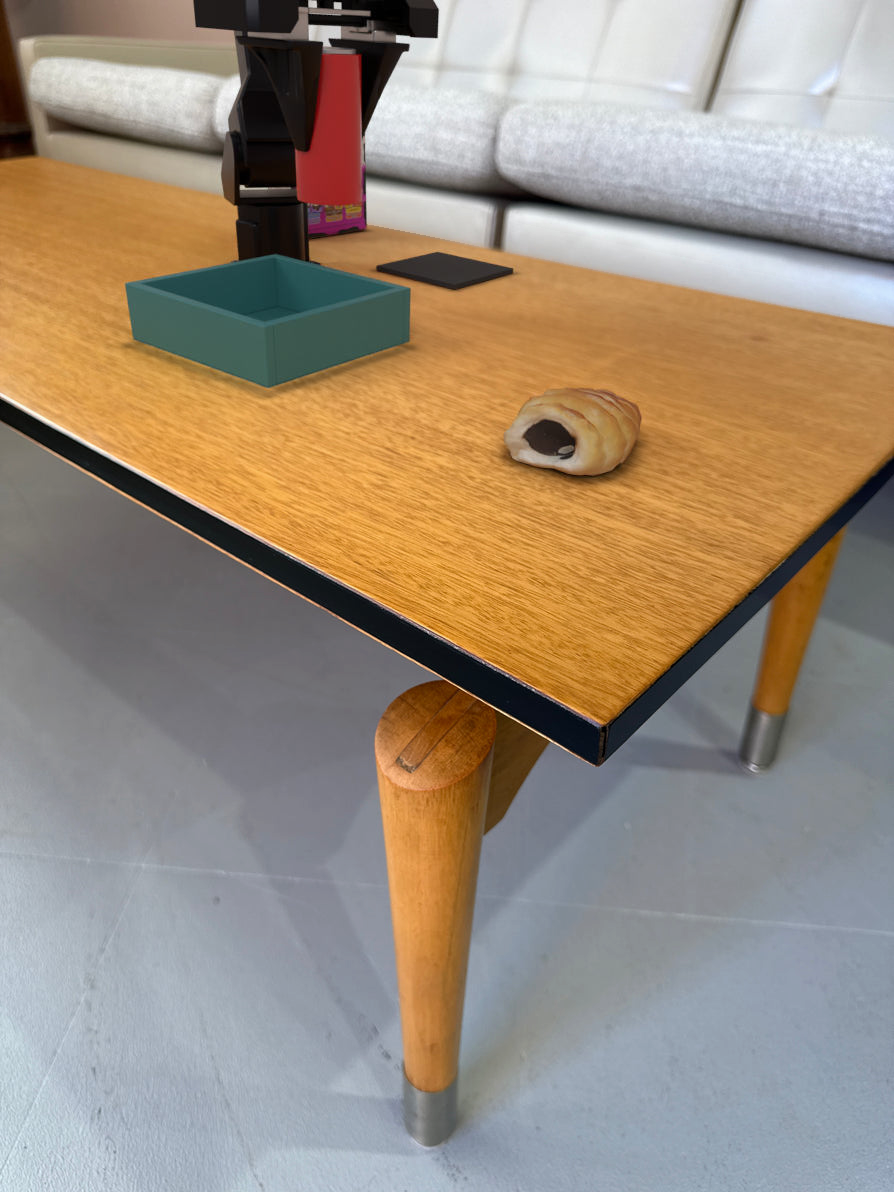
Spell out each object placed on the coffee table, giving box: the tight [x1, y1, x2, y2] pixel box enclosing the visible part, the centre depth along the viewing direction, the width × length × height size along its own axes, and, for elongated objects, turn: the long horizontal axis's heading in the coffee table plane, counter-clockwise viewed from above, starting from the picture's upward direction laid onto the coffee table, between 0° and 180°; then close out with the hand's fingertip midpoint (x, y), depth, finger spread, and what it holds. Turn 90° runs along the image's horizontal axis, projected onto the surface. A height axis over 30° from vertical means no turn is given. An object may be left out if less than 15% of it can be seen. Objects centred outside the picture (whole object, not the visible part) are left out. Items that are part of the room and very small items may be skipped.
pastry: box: [503, 387, 642, 477], centre depth 51 cm, size 9×7×4 cm
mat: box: [375, 251, 514, 290], centre depth 88 cm, size 10×10×1 cm
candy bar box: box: [267, 133, 368, 239], centre depth 98 cm, size 11×5×16 cm, turn 137°
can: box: [295, 45, 362, 206], centre depth 65 cm, size 5×5×10 cm
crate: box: [124, 254, 412, 389], centre depth 65 cm, size 15×15×4 cm
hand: (328, 148), depth 65 cm, fingers closed on can, 5 cm apart
